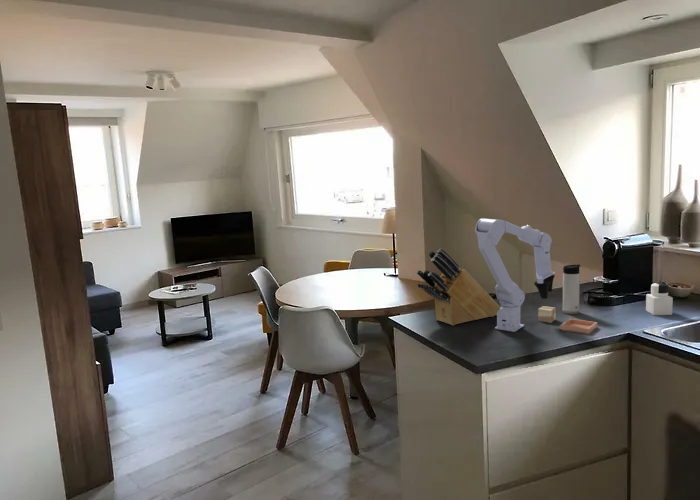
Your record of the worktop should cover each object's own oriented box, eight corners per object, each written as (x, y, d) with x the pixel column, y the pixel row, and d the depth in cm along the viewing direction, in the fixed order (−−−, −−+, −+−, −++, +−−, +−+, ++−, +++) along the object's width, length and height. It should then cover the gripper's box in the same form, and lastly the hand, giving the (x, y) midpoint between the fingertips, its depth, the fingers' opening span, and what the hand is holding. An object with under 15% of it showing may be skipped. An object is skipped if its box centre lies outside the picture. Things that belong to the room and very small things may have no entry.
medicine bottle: (663, 310, 221) (665, 281, 220) (672, 315, 214) (673, 285, 213) (645, 310, 222) (646, 282, 220) (653, 315, 215) (654, 285, 213)
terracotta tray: (588, 334, 196) (588, 329, 196) (560, 330, 203) (560, 324, 202) (597, 327, 204) (597, 322, 203) (570, 323, 210) (570, 318, 210)
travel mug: (581, 314, 222) (582, 266, 219) (564, 314, 223) (564, 266, 220) (578, 310, 228) (578, 263, 225) (561, 310, 229) (561, 263, 226)
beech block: (550, 322, 212) (550, 310, 212) (538, 321, 216) (538, 308, 215) (555, 319, 216) (555, 307, 215) (543, 318, 219) (543, 306, 219)
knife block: (415, 324, 219) (413, 248, 215) (483, 310, 235) (482, 239, 230) (432, 330, 209) (430, 251, 205) (502, 315, 225) (501, 241, 220)
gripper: (549, 267, 204) (553, 301, 207) (557, 256, 216) (561, 288, 219) (530, 267, 208) (534, 301, 211) (539, 257, 220) (543, 288, 223)
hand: (546, 294), depth 215 cm, fingers open, 7 cm apart
